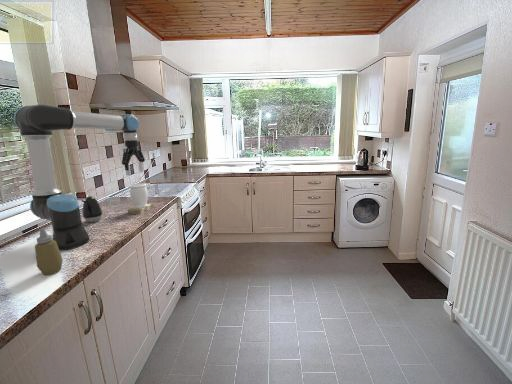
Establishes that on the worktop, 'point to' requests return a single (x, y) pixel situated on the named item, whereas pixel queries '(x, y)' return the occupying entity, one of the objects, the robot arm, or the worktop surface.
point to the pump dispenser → (91, 209)
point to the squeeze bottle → (47, 254)
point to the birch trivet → (140, 209)
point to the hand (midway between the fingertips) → (135, 173)
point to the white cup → (139, 195)
